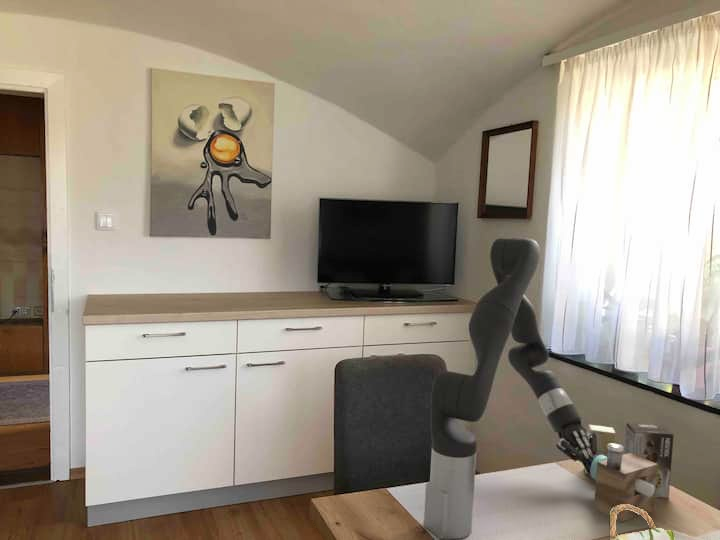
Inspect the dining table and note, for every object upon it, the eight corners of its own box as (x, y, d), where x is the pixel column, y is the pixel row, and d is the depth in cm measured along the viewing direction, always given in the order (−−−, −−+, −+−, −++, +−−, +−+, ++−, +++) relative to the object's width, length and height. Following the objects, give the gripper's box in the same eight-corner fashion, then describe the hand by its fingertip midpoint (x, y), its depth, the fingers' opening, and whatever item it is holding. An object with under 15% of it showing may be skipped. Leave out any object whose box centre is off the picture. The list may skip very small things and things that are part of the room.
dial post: (615, 471, 128) (617, 450, 128) (602, 465, 131) (603, 444, 131) (625, 468, 130) (627, 447, 130) (612, 462, 133) (613, 442, 133)
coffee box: (658, 486, 147) (664, 424, 145) (669, 498, 140) (675, 434, 139) (621, 483, 147) (626, 421, 146) (630, 495, 141) (635, 431, 140)
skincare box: (586, 474, 152) (589, 429, 151) (583, 468, 156) (587, 423, 155) (612, 478, 150) (616, 432, 149) (609, 471, 154) (613, 426, 153)
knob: (641, 506, 127) (643, 480, 127) (589, 481, 139) (591, 457, 138) (657, 500, 130) (660, 475, 130) (605, 476, 142) (607, 452, 141)
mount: (620, 521, 128) (624, 473, 127) (593, 507, 134) (597, 461, 133) (653, 509, 134) (658, 464, 133) (626, 496, 140) (630, 452, 139)
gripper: (550, 406, 144) (587, 473, 135) (585, 399, 151) (623, 463, 142) (532, 420, 149) (567, 486, 140) (567, 413, 156) (603, 475, 147)
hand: (595, 474), depth 141 cm, fingers closed
